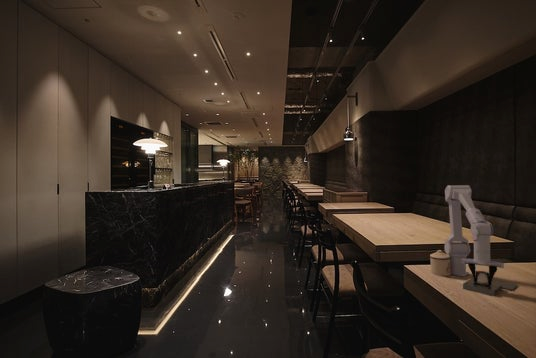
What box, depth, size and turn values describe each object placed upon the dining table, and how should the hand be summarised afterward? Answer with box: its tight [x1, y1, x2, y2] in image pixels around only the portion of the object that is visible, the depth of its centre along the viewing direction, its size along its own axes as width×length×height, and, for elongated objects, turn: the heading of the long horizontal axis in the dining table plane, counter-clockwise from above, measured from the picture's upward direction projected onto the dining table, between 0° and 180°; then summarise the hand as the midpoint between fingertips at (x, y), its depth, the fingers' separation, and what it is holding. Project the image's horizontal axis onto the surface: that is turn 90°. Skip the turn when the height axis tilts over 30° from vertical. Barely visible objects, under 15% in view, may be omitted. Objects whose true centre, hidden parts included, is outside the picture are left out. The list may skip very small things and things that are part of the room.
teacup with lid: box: [429, 249, 452, 277], centre depth 151 cm, size 12×9×12 cm
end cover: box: [475, 270, 489, 287], centre depth 128 cm, size 5×5×7 cm
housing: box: [462, 277, 503, 297], centre depth 128 cm, size 11×11×2 cm
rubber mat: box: [492, 279, 518, 292], centre depth 132 cm, size 9×9×1 cm
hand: (482, 282), depth 128 cm, fingers closed on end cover, 5 cm apart
